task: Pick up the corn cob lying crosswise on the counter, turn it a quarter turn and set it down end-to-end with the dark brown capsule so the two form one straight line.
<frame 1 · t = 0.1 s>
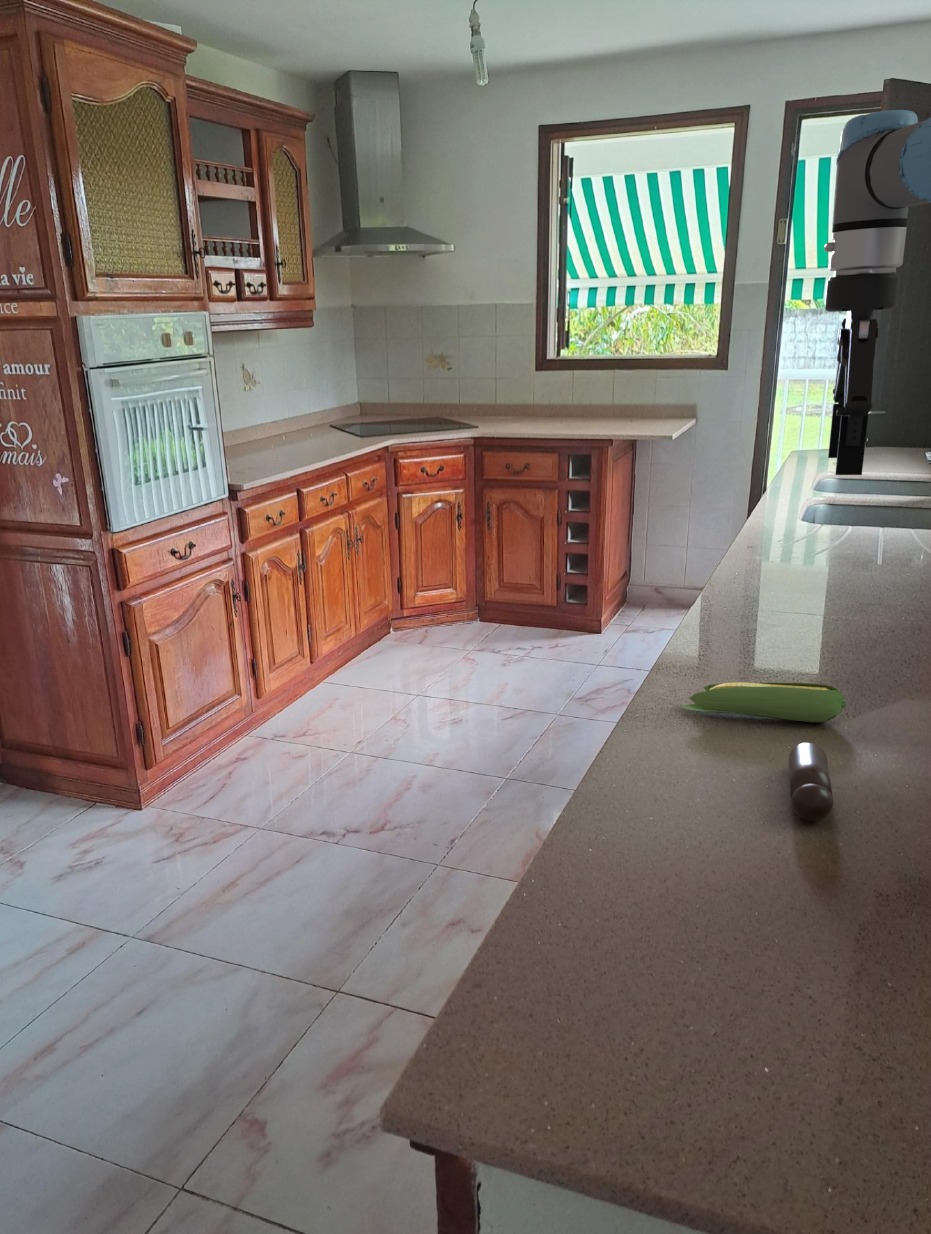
hand: (843, 466, 115), 31 cm above the counter, tool pointing down, fingers open, 13 cm apart
dark brown capsule: (808, 797, 104), on the counter
edible corn: (759, 717, 125), on the counter
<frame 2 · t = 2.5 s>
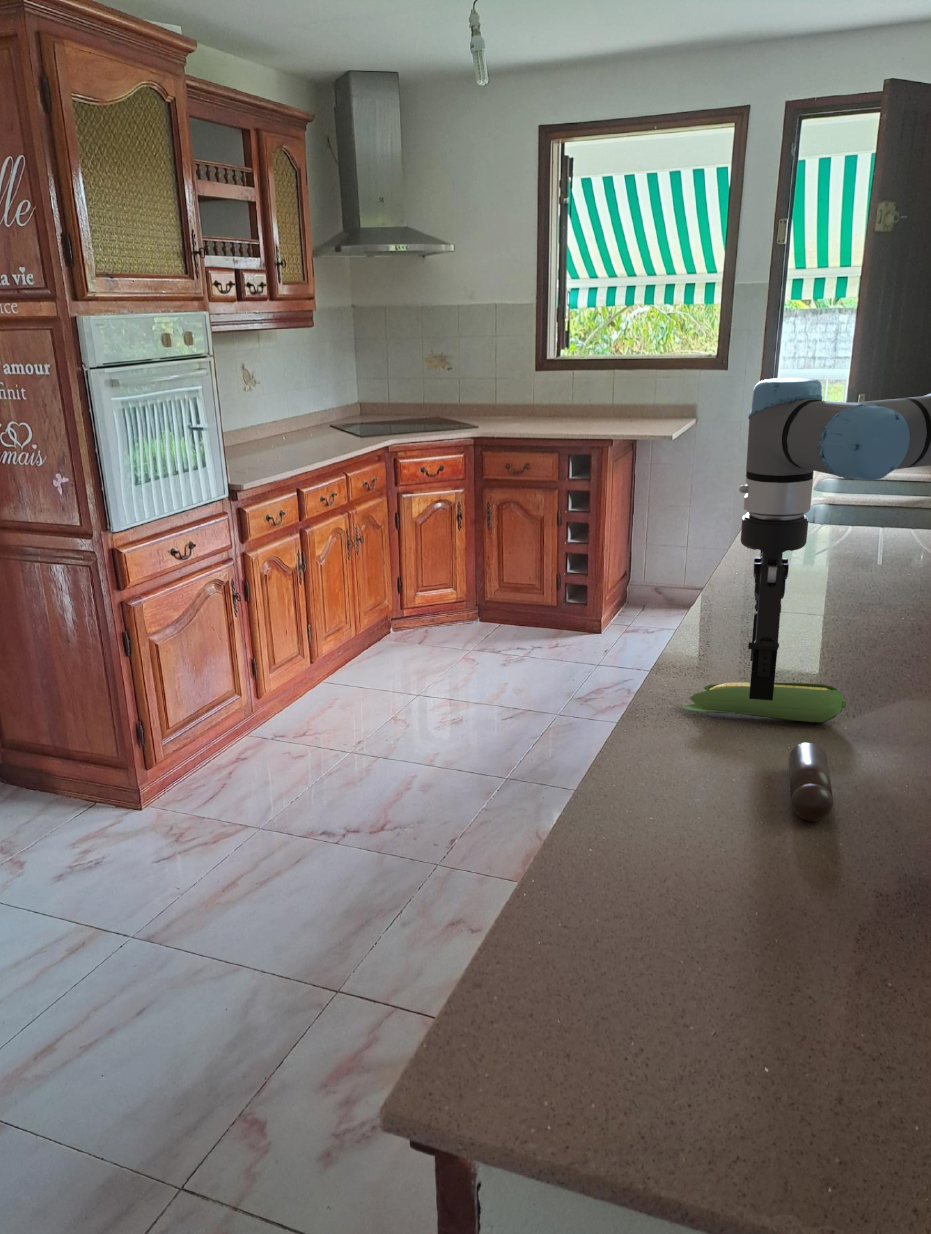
hand: (760, 679, 124), 5 cm above the counter, tool pointing down, fingers open, 13 cm apart
nothing on the counter moved.
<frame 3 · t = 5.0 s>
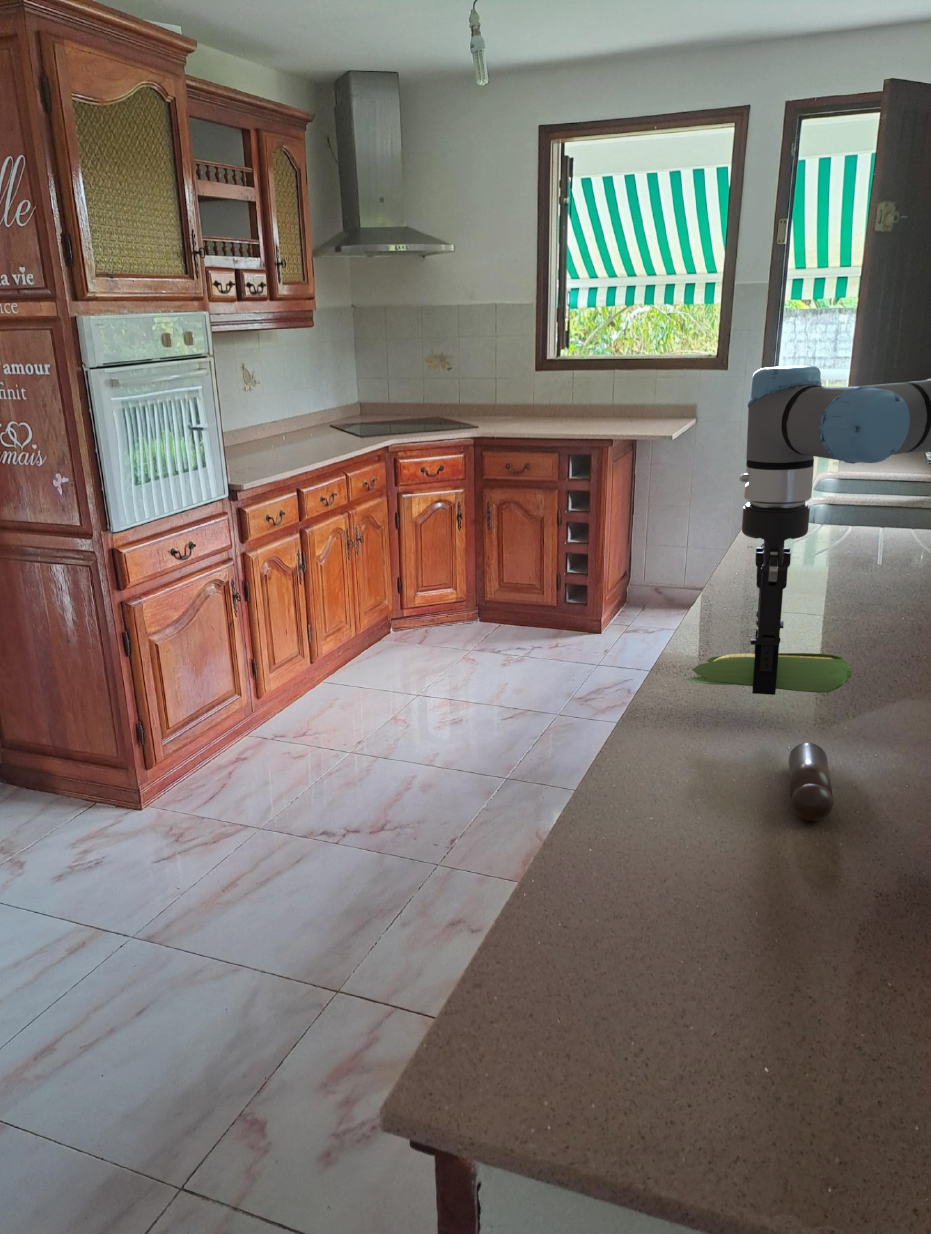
hand: (763, 685, 123), 4 cm above the counter, tool pointing down, fingers closed on edible corn, 5 cm apart
edible corn: (763, 689, 123), point 4 cm above the counter, touching gripper
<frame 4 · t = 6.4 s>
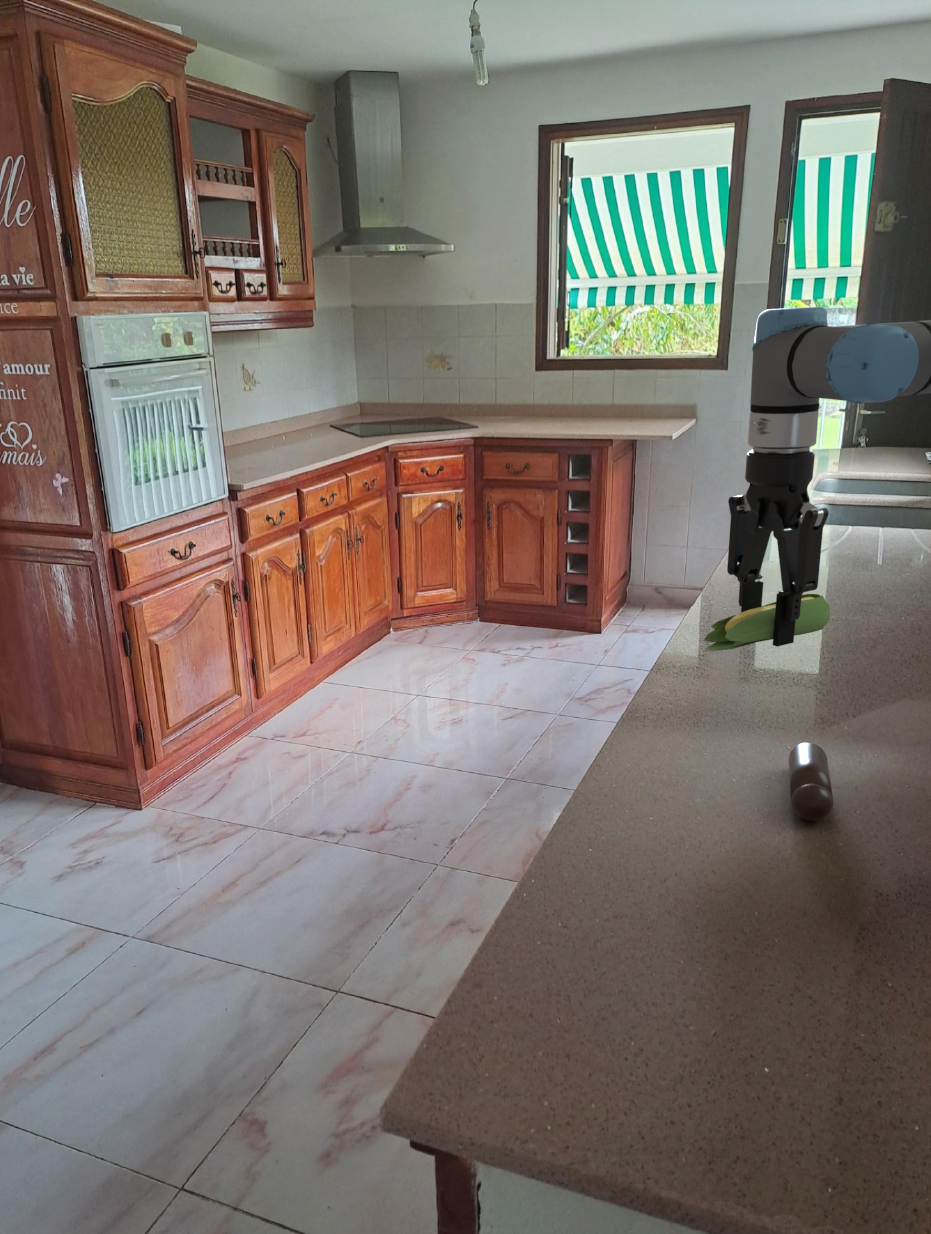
hand: (765, 637, 121), 11 cm above the counter, tool pointing down, fingers closed on edible corn, 5 cm apart
edible corn: (766, 641, 121), point 10 cm above the counter, touching gripper
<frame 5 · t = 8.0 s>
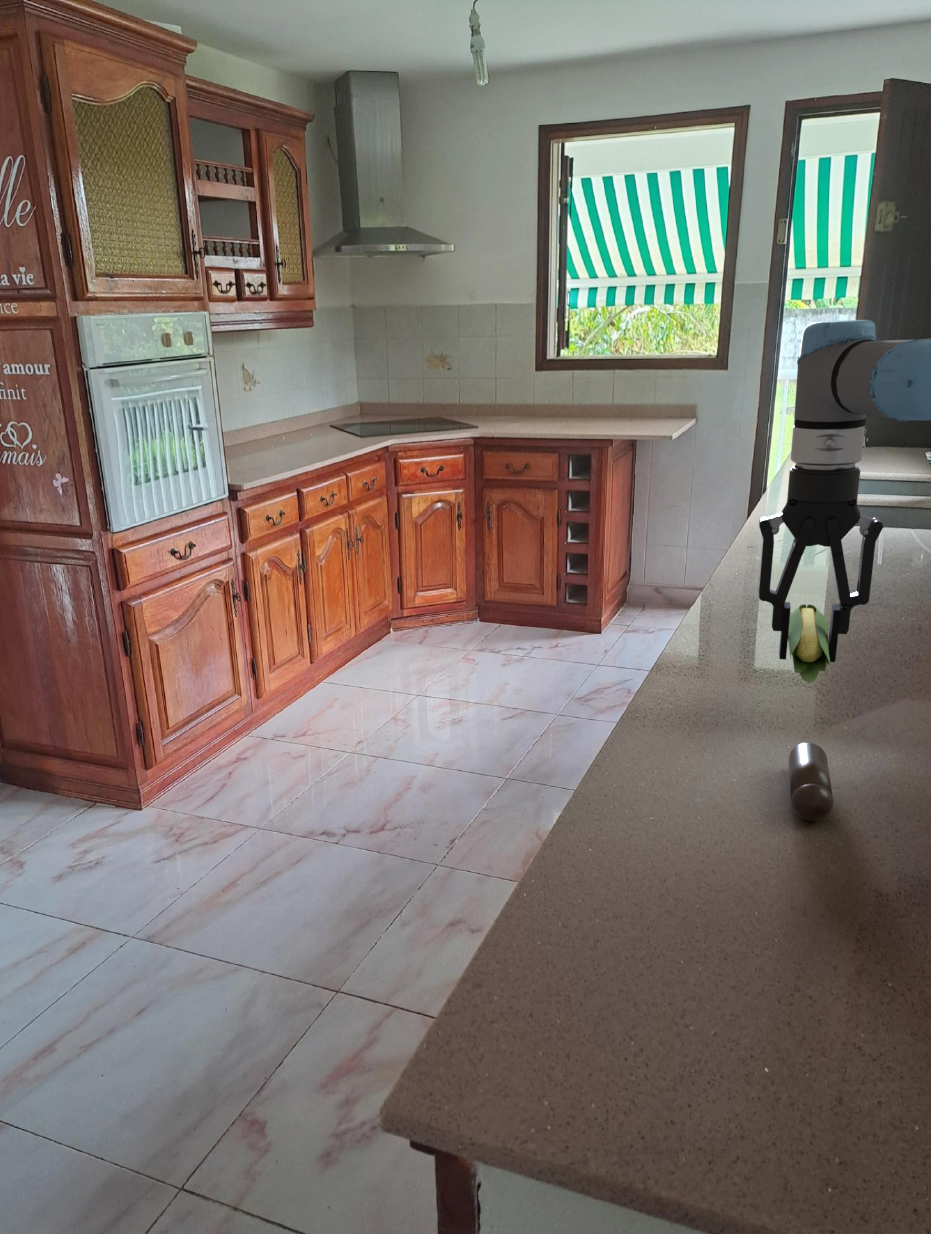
hand: (806, 656, 119), 9 cm above the counter, tool pointing down, fingers closed on edible corn, 5 cm apart
edible corn: (806, 660, 119), point 9 cm above the counter, touching gripper
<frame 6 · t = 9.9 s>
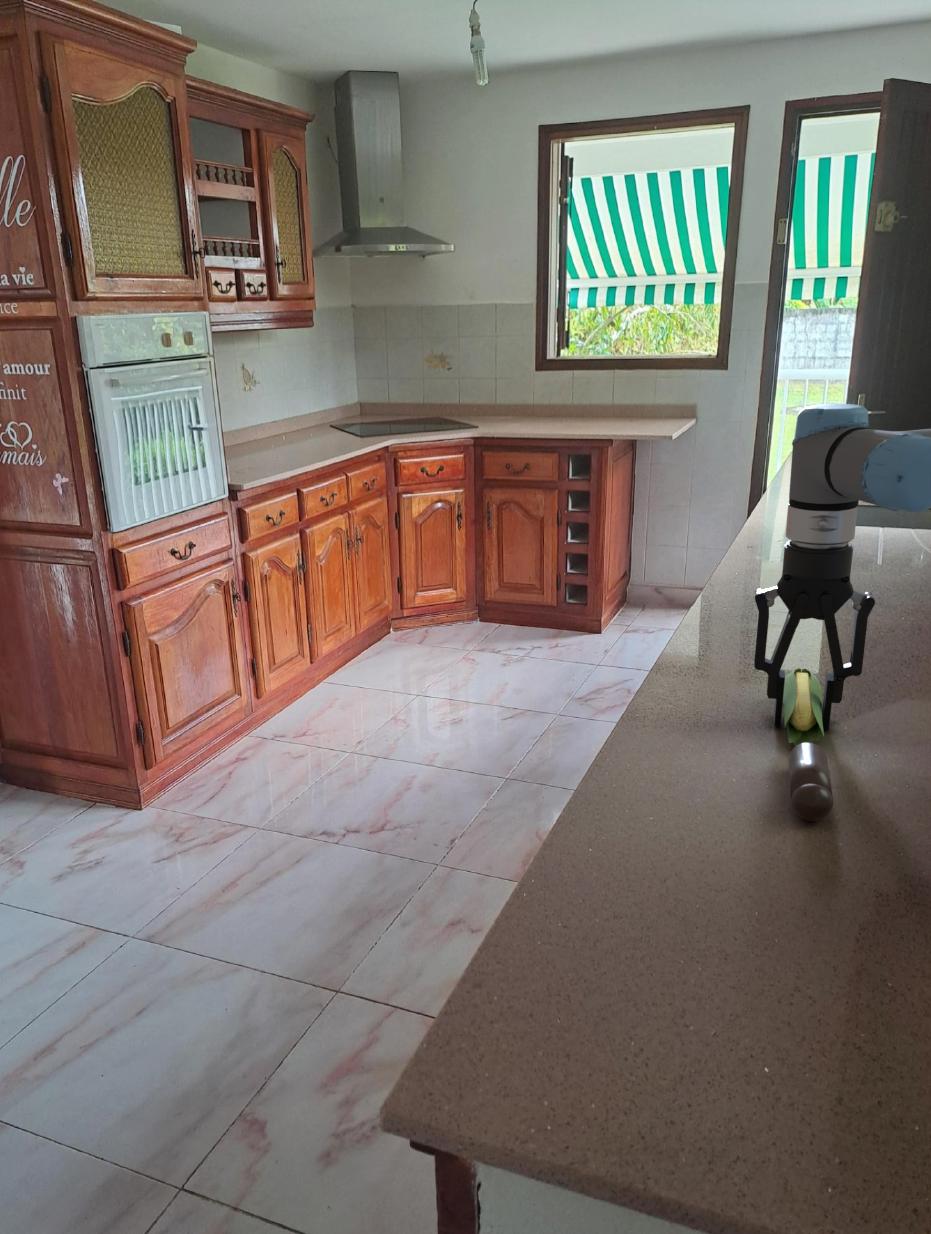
hand: (800, 723, 122), 0 cm above the counter, tool pointing down, fingers closed on edible corn, 5 cm apart
edible corn: (800, 725, 122), on the counter, touching gripper
when the fingers open (0 cm above the counter, at t = 11.3 s): edible corn stays where it is, on the counter.
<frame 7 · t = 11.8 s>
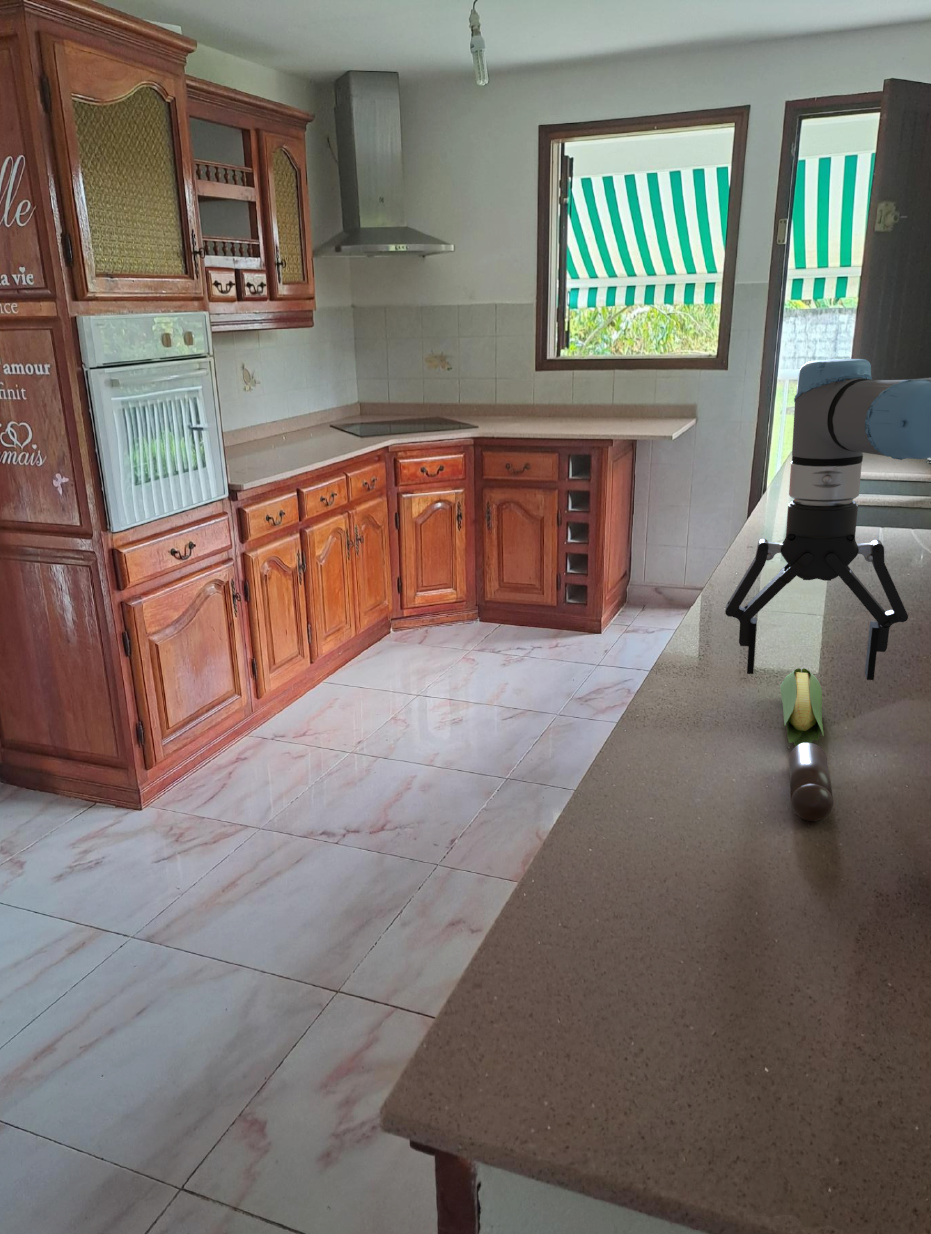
hand: (808, 673, 119), 7 cm above the counter, tool pointing down, fingers open, 13 cm apart
edible corn: (800, 725, 122), on the counter
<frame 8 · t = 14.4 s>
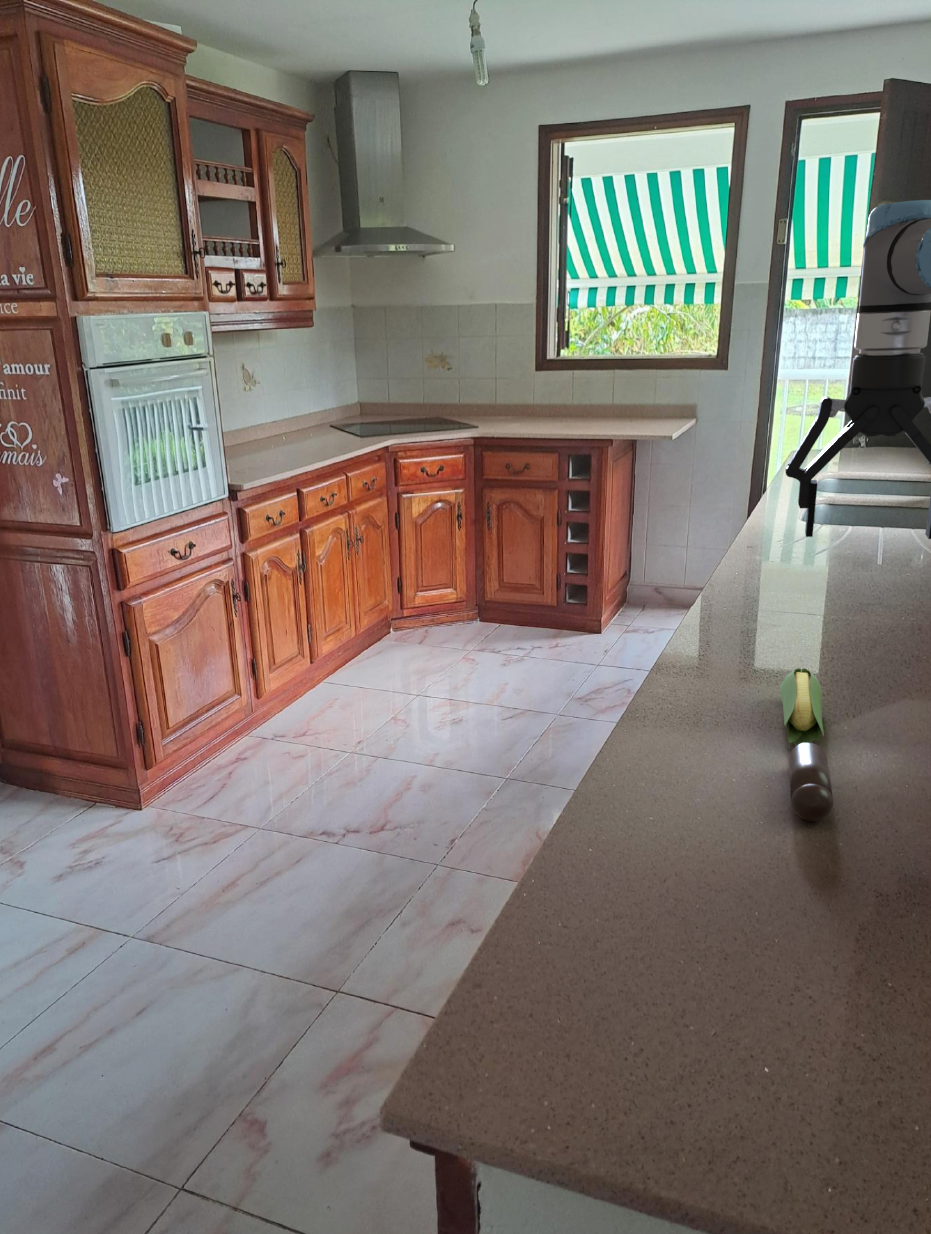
hand: (868, 535, 118), 23 cm above the counter, tool pointing down, fingers open, 13 cm apart
nothing on the counter moved.
at the end: edible corn 0.2 cm from the target spot, on the counter; the gripper is holding nothing; edible corn touching counter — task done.
